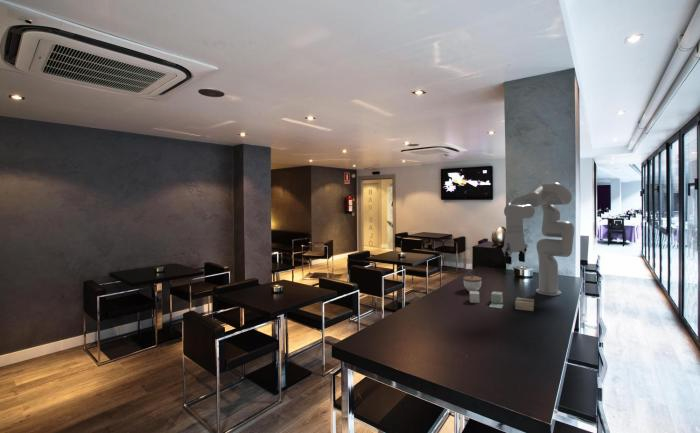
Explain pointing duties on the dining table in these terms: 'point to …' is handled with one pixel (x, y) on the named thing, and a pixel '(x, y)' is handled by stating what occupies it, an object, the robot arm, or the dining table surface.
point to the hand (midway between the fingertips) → (515, 262)
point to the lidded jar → (472, 283)
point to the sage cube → (497, 297)
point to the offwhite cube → (474, 297)
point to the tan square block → (524, 304)
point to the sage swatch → (496, 305)
